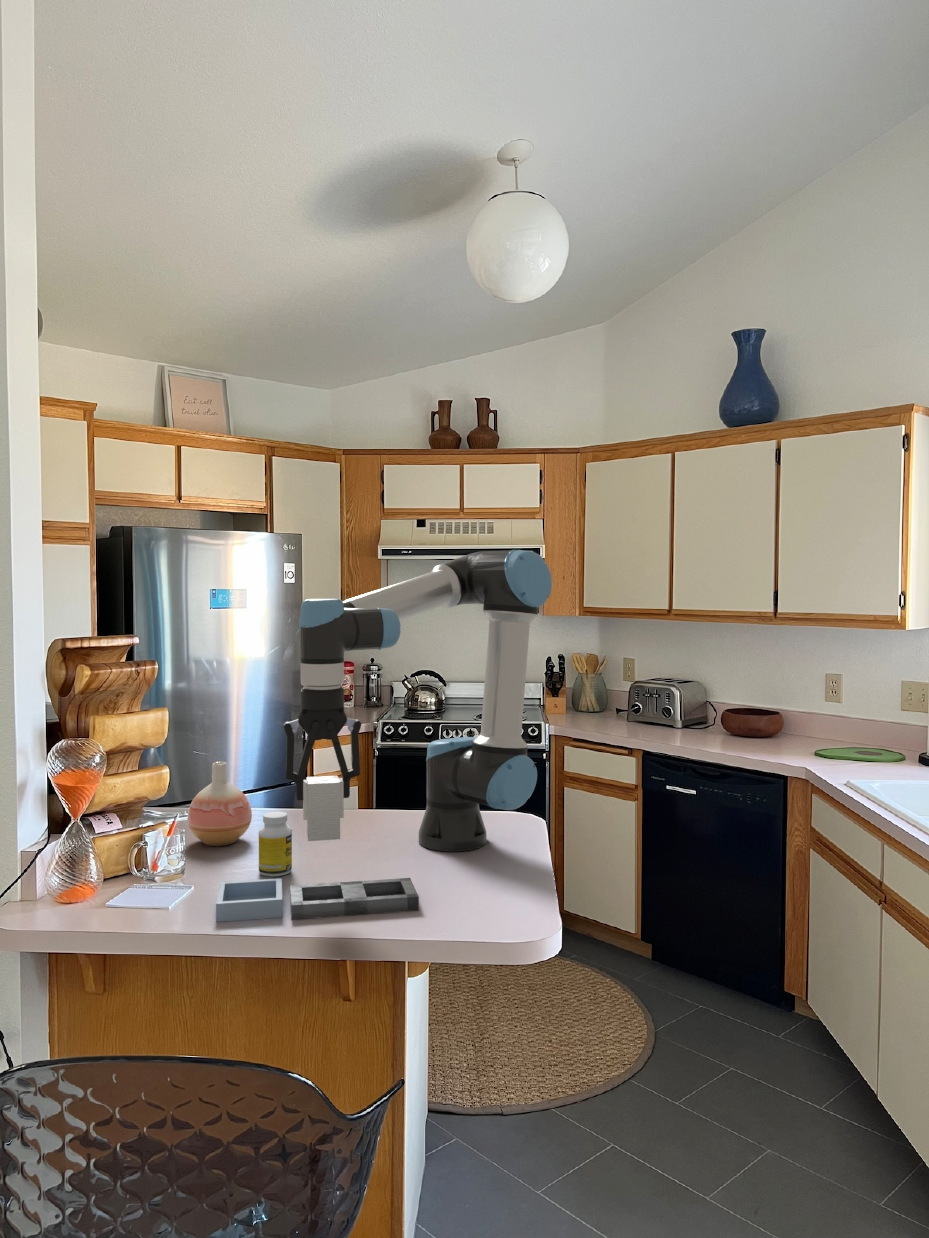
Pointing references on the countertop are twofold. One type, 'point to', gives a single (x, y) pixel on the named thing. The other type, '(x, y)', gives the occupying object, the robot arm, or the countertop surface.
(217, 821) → the vase
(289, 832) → the pill bottle
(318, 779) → the white block
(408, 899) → the grey slotted holder
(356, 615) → the robot arm
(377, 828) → the countertop surface
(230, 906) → the tray
